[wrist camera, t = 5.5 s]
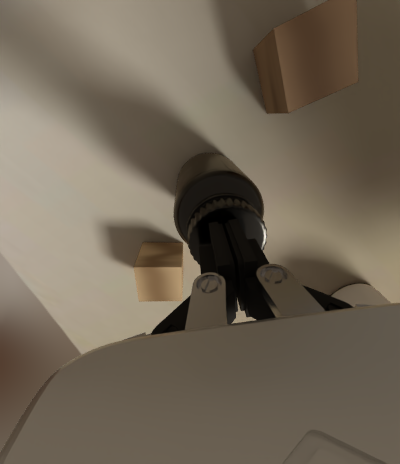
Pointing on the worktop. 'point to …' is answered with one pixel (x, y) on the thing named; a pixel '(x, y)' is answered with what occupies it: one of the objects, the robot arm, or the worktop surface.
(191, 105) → the worktop surface
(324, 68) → the walnut block
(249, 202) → the supplement bottle
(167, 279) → the maple block
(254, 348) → the robot arm
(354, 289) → the pill bottle
